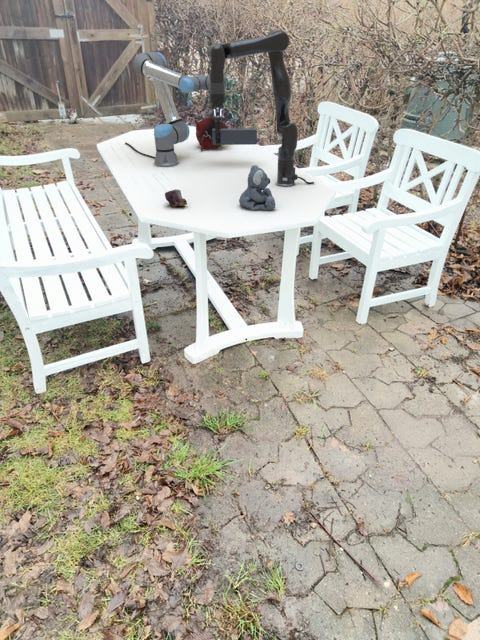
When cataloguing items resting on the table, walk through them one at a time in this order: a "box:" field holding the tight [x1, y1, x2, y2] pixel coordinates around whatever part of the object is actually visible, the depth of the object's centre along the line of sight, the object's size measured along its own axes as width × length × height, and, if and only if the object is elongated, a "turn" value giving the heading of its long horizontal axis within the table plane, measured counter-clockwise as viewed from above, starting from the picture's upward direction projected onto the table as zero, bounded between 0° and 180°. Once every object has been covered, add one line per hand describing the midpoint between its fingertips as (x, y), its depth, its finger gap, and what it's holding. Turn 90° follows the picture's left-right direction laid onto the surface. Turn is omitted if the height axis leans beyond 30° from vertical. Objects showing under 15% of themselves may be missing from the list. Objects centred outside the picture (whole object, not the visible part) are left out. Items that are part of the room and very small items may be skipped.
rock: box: [164, 188, 188, 207], centre depth 228 cm, size 12×9×10 cm
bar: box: [212, 127, 258, 146], centre depth 279 cm, size 27×5×8 cm, turn 88°
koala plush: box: [238, 164, 276, 211], centre depth 224 cm, size 17×18×20 cm
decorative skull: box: [193, 116, 229, 152], centre depth 324 cm, size 21×24×25 cm
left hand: (218, 142), depth 281 cm, fingers closed on bar, 5 cm apart
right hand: (218, 127), depth 228 cm, fingers open, 8 cm apart
